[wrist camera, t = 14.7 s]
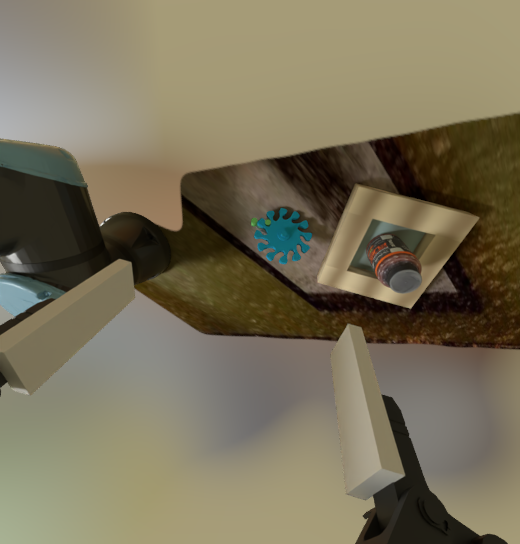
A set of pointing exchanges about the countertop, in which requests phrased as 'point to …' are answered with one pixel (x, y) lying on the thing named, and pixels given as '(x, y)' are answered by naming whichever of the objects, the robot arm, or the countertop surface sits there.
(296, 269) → the countertop surface
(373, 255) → the supplement bottle
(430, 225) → the socket holder
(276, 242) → the gear
